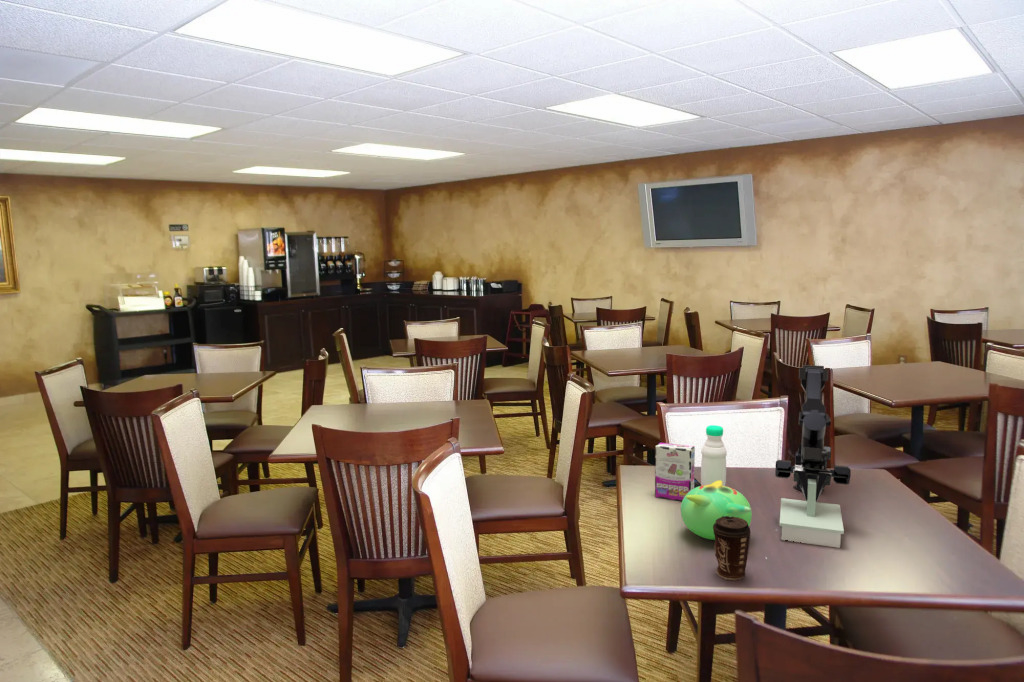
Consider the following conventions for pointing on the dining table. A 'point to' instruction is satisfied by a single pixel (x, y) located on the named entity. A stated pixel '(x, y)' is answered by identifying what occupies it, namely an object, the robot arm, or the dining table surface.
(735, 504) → the toy bird
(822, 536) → the tub
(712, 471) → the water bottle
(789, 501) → the lid
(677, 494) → the candy bar box
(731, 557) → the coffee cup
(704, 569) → the dining table surface
